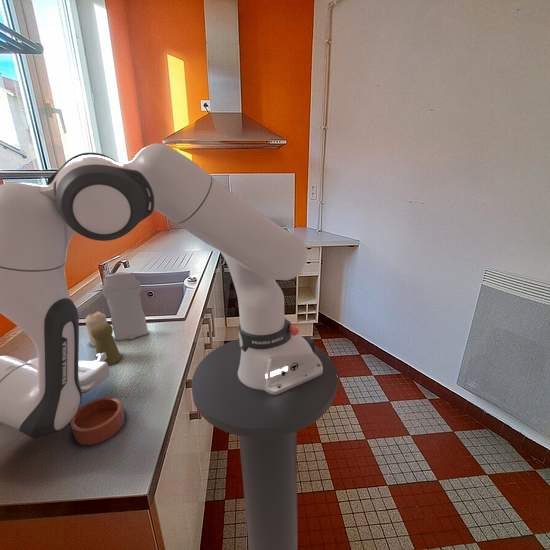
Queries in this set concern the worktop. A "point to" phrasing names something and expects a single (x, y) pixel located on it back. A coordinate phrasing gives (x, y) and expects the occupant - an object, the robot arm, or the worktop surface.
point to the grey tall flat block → (125, 305)
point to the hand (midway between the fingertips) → (87, 353)
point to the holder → (97, 420)
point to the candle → (94, 323)
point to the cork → (105, 342)
